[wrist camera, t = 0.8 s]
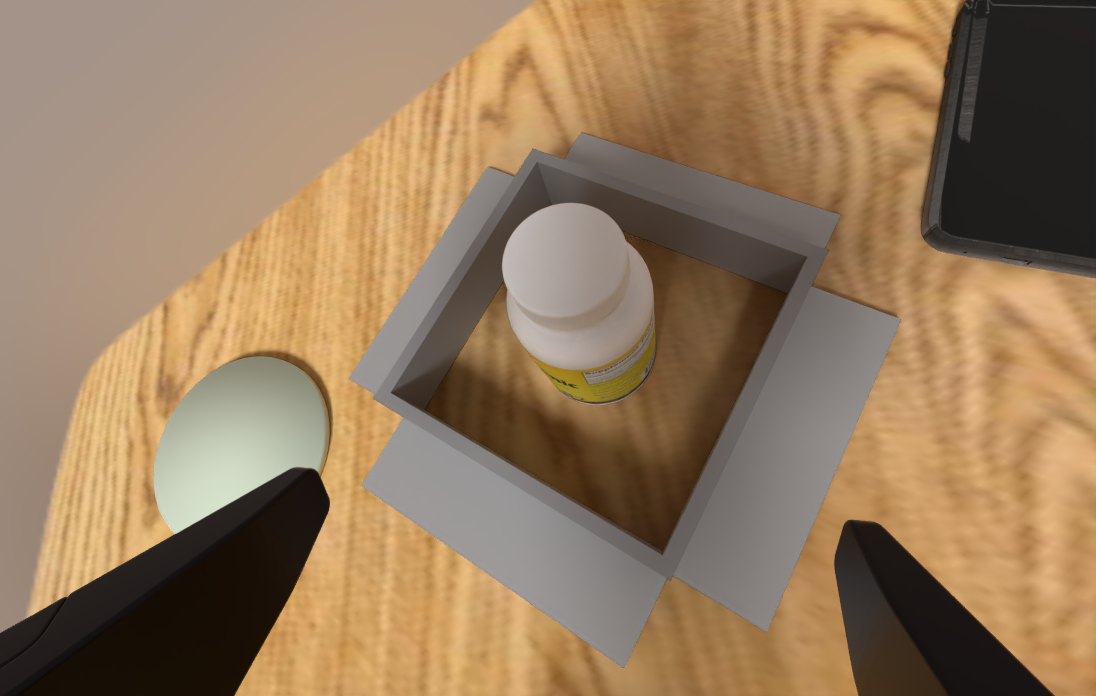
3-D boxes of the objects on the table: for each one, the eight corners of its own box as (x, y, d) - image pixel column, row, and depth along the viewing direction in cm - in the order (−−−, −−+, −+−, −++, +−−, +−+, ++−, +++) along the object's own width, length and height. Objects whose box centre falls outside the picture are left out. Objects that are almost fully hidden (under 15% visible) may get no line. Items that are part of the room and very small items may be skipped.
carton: (720, 733, 19) (733, 775, 16) (308, 446, 26) (258, 435, 23) (930, 247, 23) (973, 202, 20) (523, 117, 31) (507, 69, 27)
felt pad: (248, 591, 25) (241, 592, 24) (129, 486, 28) (120, 485, 27) (365, 409, 26) (360, 407, 26) (240, 330, 30) (233, 327, 29)
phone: (1157, -3, 24) (1147, 275, 20) (1137, 19, 25) (1123, 287, 21) (963, -11, 26) (922, 238, 23) (952, 9, 27) (910, 251, 24)
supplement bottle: (526, 335, 26) (454, 233, 17) (620, 283, 26) (599, 152, 17) (575, 429, 24) (523, 369, 15) (678, 373, 24) (689, 278, 15)
